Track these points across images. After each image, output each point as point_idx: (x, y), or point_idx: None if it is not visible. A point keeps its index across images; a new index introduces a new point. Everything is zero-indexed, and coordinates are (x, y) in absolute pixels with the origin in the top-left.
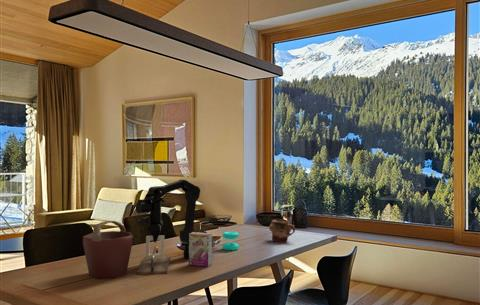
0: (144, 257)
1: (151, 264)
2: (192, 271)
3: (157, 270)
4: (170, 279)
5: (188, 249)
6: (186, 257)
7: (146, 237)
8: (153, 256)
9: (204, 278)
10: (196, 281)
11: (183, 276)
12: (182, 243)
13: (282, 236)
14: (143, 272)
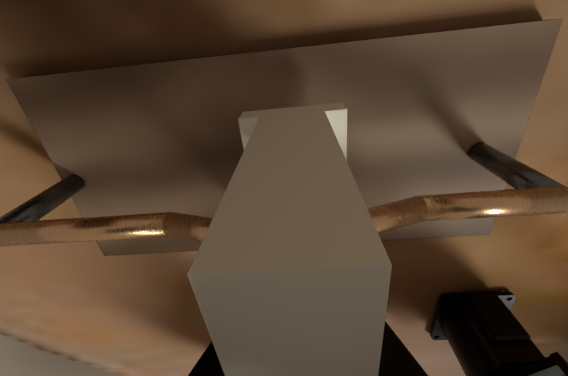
0: (531, 28)
1: (29, 201)
2: (181, 329)
3: (96, 209)
4: (20, 268)
5: (472, 360)
6: (450, 305)
7: (200, 264)
8: (19, 244)
9: (92, 360)
10: (42, 343)
11: (91, 306)
12: (563, 372)
13: None
14: (39, 126)
